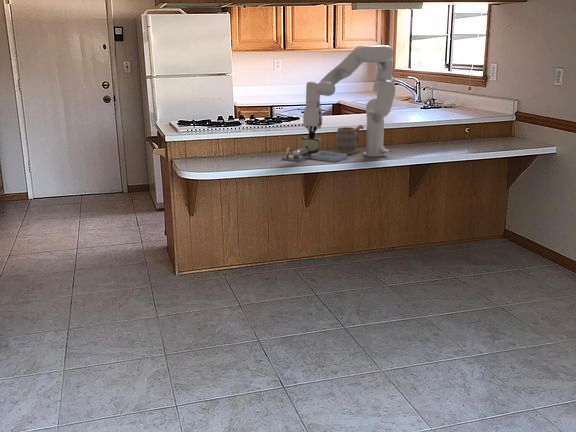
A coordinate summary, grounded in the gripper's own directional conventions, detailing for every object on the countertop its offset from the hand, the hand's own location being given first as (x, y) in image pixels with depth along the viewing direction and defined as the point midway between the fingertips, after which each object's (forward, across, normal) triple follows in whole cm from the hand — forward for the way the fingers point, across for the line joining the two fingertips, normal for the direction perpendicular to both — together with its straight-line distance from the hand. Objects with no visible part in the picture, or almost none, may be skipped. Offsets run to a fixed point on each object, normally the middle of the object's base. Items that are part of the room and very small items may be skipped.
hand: (311, 138), depth 333 cm
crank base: (+11, +5, +6) cm, 14 cm away
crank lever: (+10, +5, +2) cm, 11 cm away
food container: (+11, +7, -12) cm, 18 cm away
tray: (+11, -9, -5) cm, 15 cm away
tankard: (+10, -7, -31) cm, 33 cm away
